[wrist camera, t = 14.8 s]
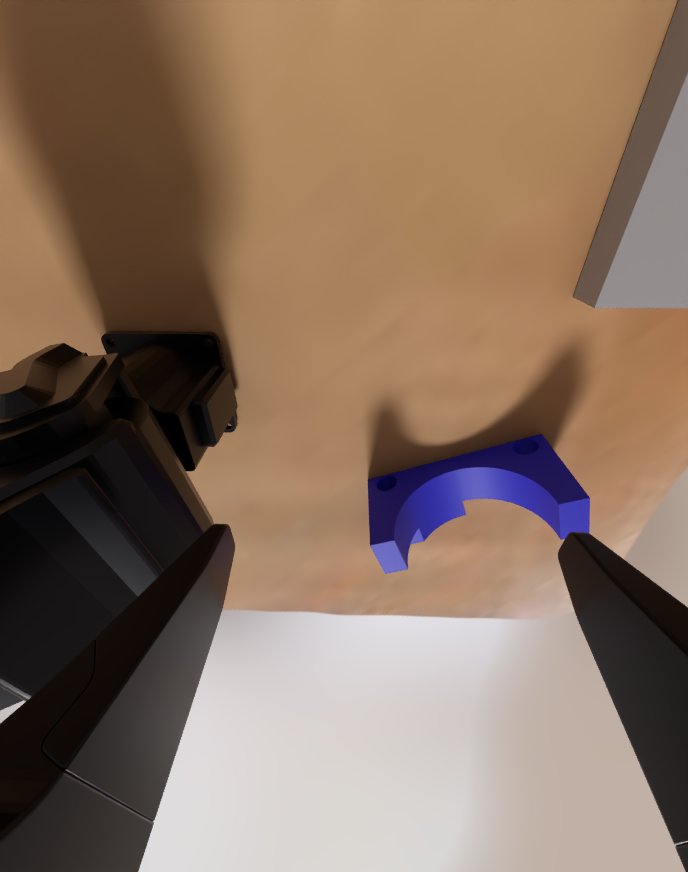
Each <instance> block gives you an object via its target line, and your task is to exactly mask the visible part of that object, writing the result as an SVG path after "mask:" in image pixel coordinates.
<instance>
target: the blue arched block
mask: <svg viewBox="0 0 688 872" xmlns="http://www.w3.org/2000/svg"><path fill="white" fill-rule="evenodd" d="M368 499H369V526H370V546H371V548H372V550H373V552H374V554H375V556H376V557H377V559H378V561H379V563H380V565H381V567H382V569H383V571H384V572H385V574H387V573H392V572H397V571H402V570H407V569H408V563H407V561H408V552H409V547H410V544H413V543H418V542H423V541H425V539H426V538H427V537H428V536H429V535H430V534H431V533H432V532H433V531H434V530H435V529H436V528H438V527H439V526H441V525H442V524H444V523H446V522H447V521H449V520H452V519H454V518H457V517H460V516H463V515H466V513H465V509H464V506H463V502H462V501H464V500H471V499H497V500H503V501H507V502H511V503H514V504H517V505H520V506H522V507H524V508H526V509H528V510H530V511H532V512H534V513H535V514H537V515H538V516H540V517H541V518H542V519H543V520H545V521H546V522H547V523H548V524H549V525H550V526H551V527H552V528H553V529H554V531H555V532H556V533H557V535H558V536H559V538H560V539H565V538H566V537H567V535H568V534H569V533H570V532H586V533H589V516H590V498H589V496H588V495H587V494H586V492H585V491H584V490H583V488H582V487H581V486H580V484H579V483H578V482H577V480H576V479H575V478H574V476H573V475H572V474H571V472H570V471H569V470H568V468H567V467H566V466H565V464H564V463H563V462H562V460H561V459H560V458H559V457H558V455H557V454H556V453H555V451H554V450H553V449H552V447H551V446H550V445H549V443H548V442H547V441H546V439H545V438H544V437H543V435H542V434H539V435H536V436H532V437H528V438H524V439H521V440H517V441H513V442H509V443H505V444H502V445H498V446H494V447H490V448H486V449H483V450H479V451H475V452H471V453H468V454H464V455H460V456H456V457H452V458H449V459H445V460H441V461H437V462H433V463H430V464H426V465H422V466H418V467H415V468H411V469H407V470H403V471H399V472H396V473H392V474H388V475H384V476H380V477H377V478H373V479H369V480H368Z"/></svg>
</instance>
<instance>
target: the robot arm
mask: <svg viewBox="0 0 688 872" xmlns="http://www.w3.org/2000/svg"><path fill="white" fill-rule="evenodd" d="M110 338H111V339H113V340H114V341H115V343H116V344H114V343H112V342H111V340H110ZM206 339H210V340H211V341H212V342H213V345H210V344H208V343H207V341H206ZM101 340H102V344H103V346H104V348H105V351H106V353H107V354H106V355H98V356H88V355H87V353H82V352H80V351H78V350H76V349H74V348H72V347H70V346H69V345H67V344H65V343H61V344H55V345H50V346H48V347H46V348H44V349H42V350H40V351H38V352H36V353H34V354H32V355H30V356H29V357H27V358H25V359H23V360H22V361H20V362H19V363H17V364H16V365H15V366H14V367H13V368H12V369H11V370H8V371H4V372H1V373H0V710H2V709H4V708H7V707H9V706H12V705H14V704H16V703H19V702H21V701H23V700H24V701H26V702H25V703H24V704H23V705H22V706H21V707H20V708H18V709H17V710H16V711H15V712H14V713H12V714H11V715H10V716H9V717H8V718H6V719H5V720H4V721H3V722H2V723H1V724H0V872H138V871H139V868H140V864H141V861H142V858H143V855H144V852H145V849H146V846H147V843H148V840H149V837H150V833H151V830H152V827H153V824H154V822H153V821H154V820H155V817H156V814H157V811H158V808H159V805H160V801H161V799H162V796H163V792H164V789H165V786H166V783H167V780H168V777H169V774H170V771H171V767H172V764H173V761H174V758H175V754H176V752H177V749H178V746H179V743H180V739H181V737H182V733H183V730H184V727H185V723H186V721H187V717H188V715H189V712H190V709H191V705H192V702H193V699H194V696H195V693H196V690H197V687H198V684H199V681H200V678H201V674H202V671H203V668H204V665H205V662H206V659H207V655H208V653H209V649H210V646H211V643H212V640H213V637H214V634H215V630H216V628H217V624H218V622H219V618H220V615H221V612H222V608H223V605H224V600H225V596H226V591H227V586H228V581H229V576H230V571H231V566H232V562H233V557H234V552H235V543H234V539H233V536H232V532H231V529H230V526H229V525H228V524H214V523H213V520H212V517H211V515H210V514H209V512H208V510H207V508H206V506H205V505H204V503H203V501H202V499H201V498H200V496H199V494H198V492H197V491H196V489H195V487H194V485H193V483H192V482H191V480H190V478H189V476H188V475H187V473H186V471H194V470H195V469H196V467H197V465H198V463H199V462H200V460H201V458H202V456H203V455H204V453H205V451H206V450H207V448H208V447H214V446H215V445H216V444H217V443H218V442H219V440H220V438H221V436H222V434H223V433H224V432H233V431H234V430H235V429H236V427H237V419H236V415H235V411H236V409H237V402H236V397H235V392H234V387H233V382H232V378H231V373H230V371H229V370H228V369H227V368H225V363H224V359H223V354H222V349H221V345H220V340H219V338H218V336H217V335H216V334H214V333H212V332H155V331H110V332H107V333H106V334H104V335H103V336H102V338H101ZM229 423H230V424H231V425H232V426H228V424H229ZM558 559H559V563H560V566H561V569H562V572H563V576H564V579H565V582H566V585H567V588H568V591H569V595H570V598H571V601H572V604H573V607H574V610H575V613H576V616H577V619H578V621H579V624H580V626H581V629H582V631H583V633H584V635H585V638H586V640H587V642H588V645H589V647H590V649H591V652H592V654H593V656H594V659H595V661H596V663H597V666H598V668H599V670H600V673H601V675H602V677H603V680H604V682H605V684H606V687H607V689H608V691H609V694H610V696H611V698H612V701H613V703H614V705H615V708H616V710H617V712H618V715H619V717H620V719H621V722H622V724H623V726H624V728H625V731H626V733H627V735H628V738H629V740H630V742H631V745H632V747H633V749H634V752H635V754H636V756H637V759H638V761H639V763H640V766H641V768H642V770H643V772H644V775H645V777H646V780H647V782H648V784H649V787H650V789H651V791H652V794H653V796H654V798H655V800H656V803H657V805H658V808H659V810H660V812H661V815H662V817H663V819H664V822H665V824H666V826H667V828H668V831H669V833H670V835H671V838H672V840H673V842H674V844H675V845H676V850H677V852H678V855H679V857H680V859H681V862H682V864H683V866H684V869H685V871H686V872H688V607H686V606H685V605H684V604H682V603H681V602H680V601H678V600H677V599H676V598H674V597H673V596H672V595H670V594H669V593H668V592H666V591H665V590H664V589H662V588H661V587H660V586H658V585H657V584H656V583H654V582H653V581H652V580H650V579H649V578H648V577H646V576H645V575H644V574H642V573H641V572H640V571H639V570H637V569H636V568H634V567H633V566H632V565H630V564H629V563H628V562H627V561H625V560H624V559H623V558H621V557H620V556H619V555H617V554H616V553H615V552H613V551H612V550H611V549H609V548H608V547H607V546H605V545H604V544H603V543H601V542H600V541H599V540H597V539H596V538H595V537H593V536H592V535H590V534H589V533H586V532H570V533H569V534H568V535H567V537H566V538H565V540H564V542H563V544H562V546H561V547H560V549H559V552H558Z"/></svg>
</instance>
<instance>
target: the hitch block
mask: <svg viewBox="0 0 688 872" xmlns="http://www.w3.org/2000/svg"><path fill="white" fill-rule="evenodd" d="M573 297H574V298H576V299H578V300H580V301H582V302H584V303H586V304H588V305H590V306H592V307H594V308H688V0H678V3H677V6H676V9H675V12H674V15H673V17H672V20H671V23H670V26H669V29H668V31H667V34H666V37H665V40H664V43H663V45H662V48H661V51H660V54H659V57H658V59H657V62H656V65H655V68H654V71H653V73H652V76H651V79H650V82H649V85H648V88H647V90H646V93H645V96H644V99H643V102H642V104H641V107H640V110H639V113H638V116H637V118H636V121H635V124H634V127H633V130H632V132H631V135H630V138H629V141H628V144H627V147H626V149H625V152H624V155H623V158H622V161H621V163H620V166H619V169H618V172H617V175H616V177H615V180H614V183H613V186H612V189H611V191H610V194H609V197H608V200H607V203H606V205H605V208H604V211H603V214H602V217H601V220H600V222H599V225H598V228H597V231H596V234H595V236H594V239H593V242H592V245H591V248H590V250H589V253H588V256H587V259H586V262H585V264H584V267H583V270H582V273H581V276H580V278H579V281H578V284H577V287H576V290H575V293H574V295H573Z"/></svg>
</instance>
